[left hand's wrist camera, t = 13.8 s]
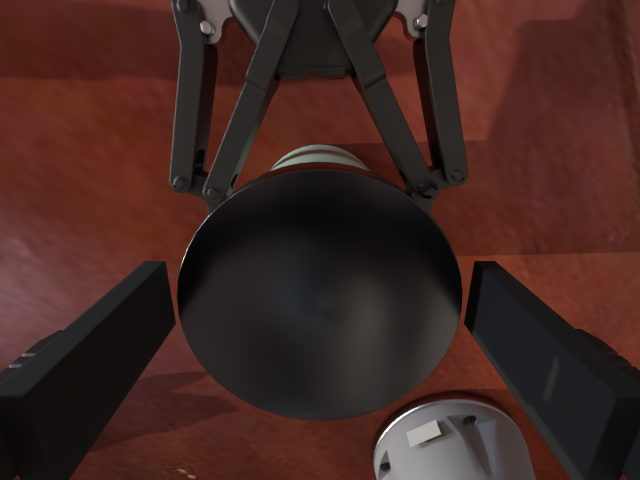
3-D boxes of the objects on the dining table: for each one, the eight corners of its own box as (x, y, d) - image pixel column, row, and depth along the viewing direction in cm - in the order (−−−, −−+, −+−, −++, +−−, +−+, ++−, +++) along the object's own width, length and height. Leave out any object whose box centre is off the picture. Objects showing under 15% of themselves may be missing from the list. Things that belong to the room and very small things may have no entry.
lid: (228, 396, 16) (216, 433, 14) (164, 183, 13) (137, 194, 11) (446, 370, 16) (464, 405, 14) (439, 141, 12) (460, 145, 10)
